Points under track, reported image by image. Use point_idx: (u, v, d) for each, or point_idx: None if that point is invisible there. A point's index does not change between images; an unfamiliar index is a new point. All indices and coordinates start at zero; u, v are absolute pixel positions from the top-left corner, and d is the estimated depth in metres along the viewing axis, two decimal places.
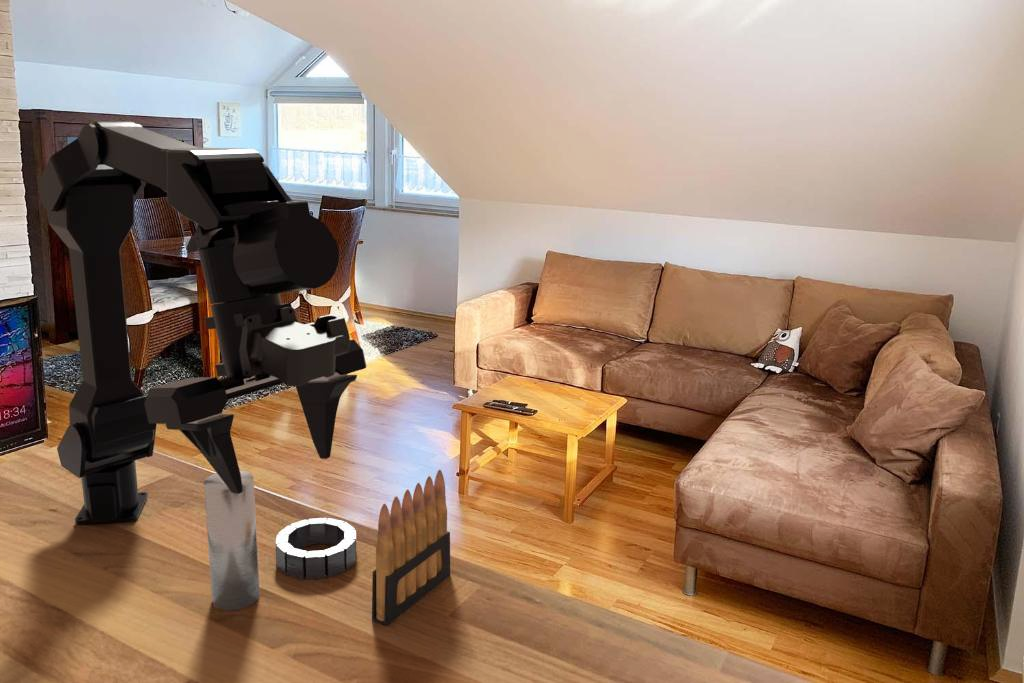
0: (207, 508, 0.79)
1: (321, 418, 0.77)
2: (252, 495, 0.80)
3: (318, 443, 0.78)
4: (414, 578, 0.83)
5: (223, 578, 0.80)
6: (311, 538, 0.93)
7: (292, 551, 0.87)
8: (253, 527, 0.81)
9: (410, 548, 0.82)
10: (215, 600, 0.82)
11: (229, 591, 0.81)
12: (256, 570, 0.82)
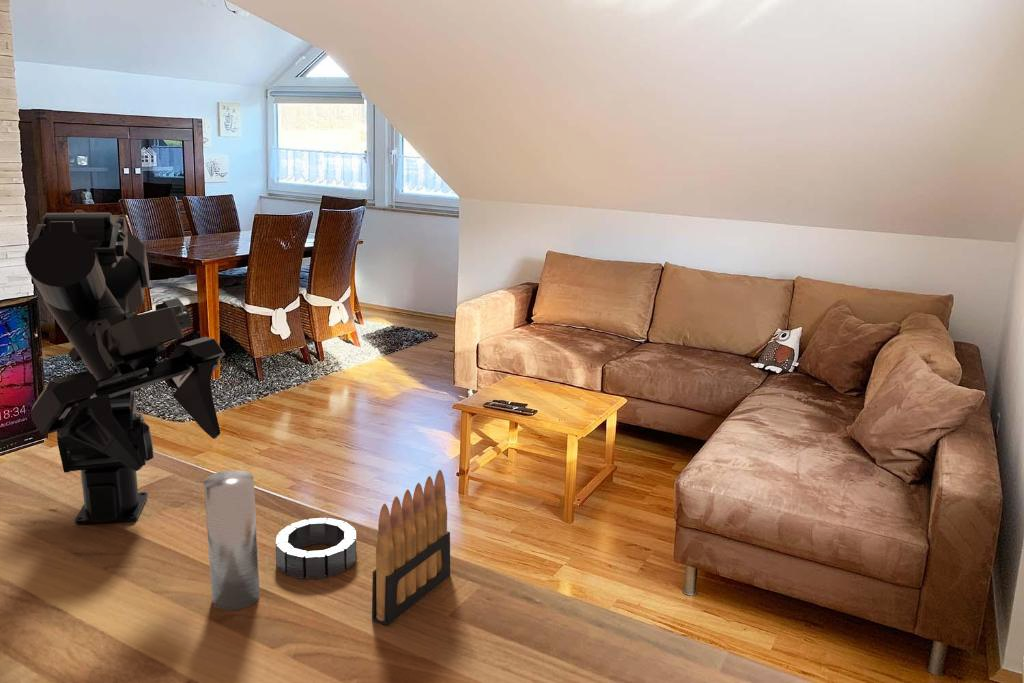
0: (207, 508, 0.79)
1: (200, 403, 0.88)
2: (252, 495, 0.80)
3: (206, 426, 0.88)
4: (414, 578, 0.83)
5: (223, 578, 0.80)
6: (311, 538, 0.93)
7: (292, 551, 0.87)
8: (253, 527, 0.81)
9: (410, 548, 0.82)
10: (215, 600, 0.82)
11: (229, 591, 0.81)
12: (256, 570, 0.82)
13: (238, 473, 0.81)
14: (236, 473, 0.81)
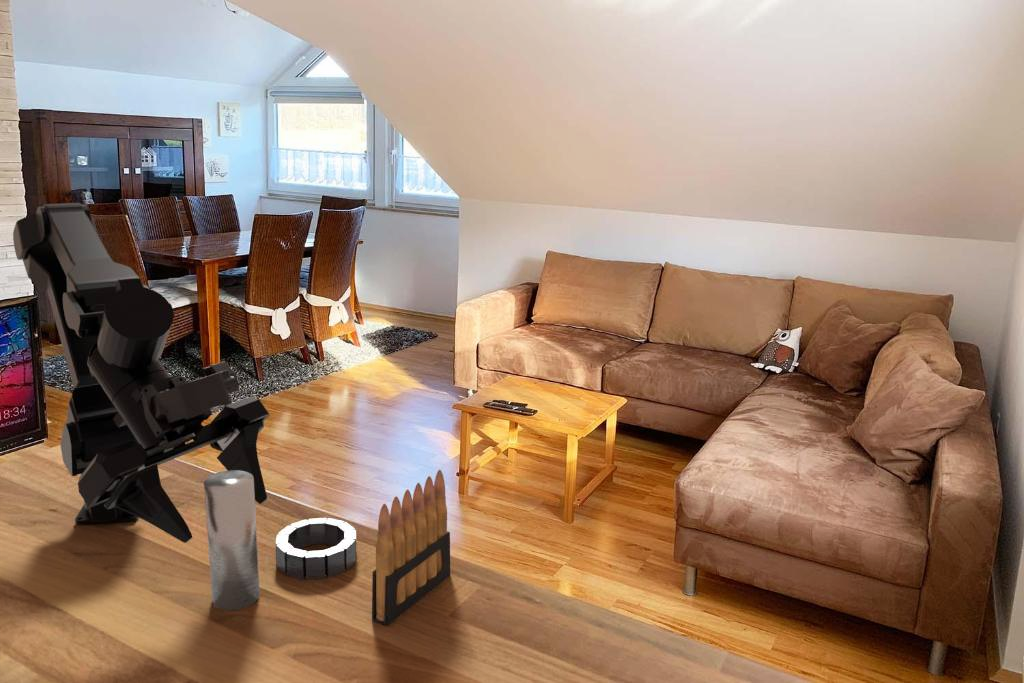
0: (207, 508, 0.79)
1: (246, 467, 0.86)
2: (252, 495, 0.80)
3: None
4: (414, 578, 0.83)
5: (223, 578, 0.80)
6: (311, 538, 0.93)
7: (292, 551, 0.87)
8: (253, 527, 0.81)
9: (409, 548, 0.82)
10: (215, 600, 0.82)
11: (229, 591, 0.81)
12: (256, 570, 0.82)
13: (238, 473, 0.81)
14: (236, 473, 0.81)
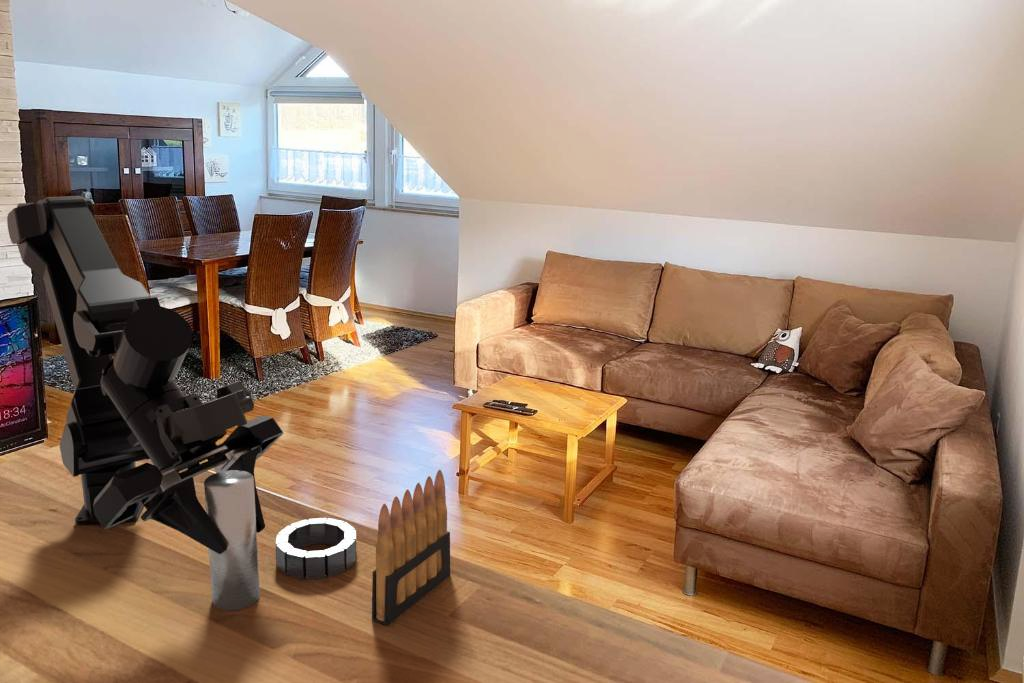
0: (207, 508, 0.79)
1: None
2: (252, 495, 0.80)
3: None
4: (414, 578, 0.83)
5: (223, 578, 0.80)
6: (311, 538, 0.93)
7: (292, 551, 0.87)
8: (253, 527, 0.81)
9: (410, 548, 0.82)
10: (215, 600, 0.82)
11: (229, 591, 0.81)
12: (256, 570, 0.82)
13: (238, 473, 0.81)
14: (236, 473, 0.81)
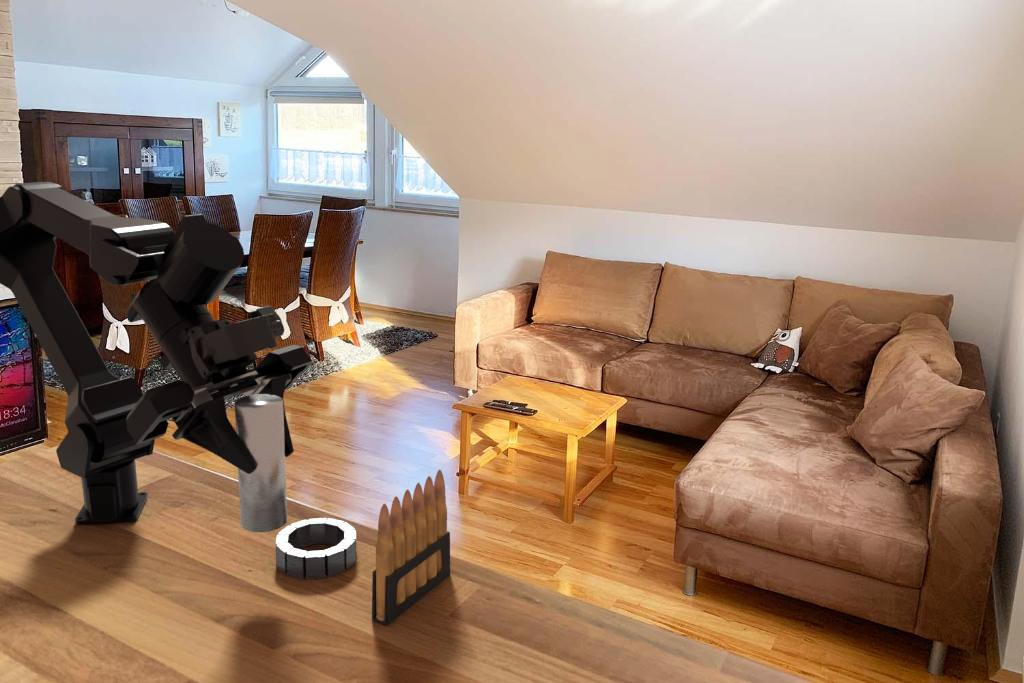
0: (237, 429, 0.80)
1: None
2: (281, 417, 0.81)
3: None
4: (414, 578, 0.83)
5: (252, 499, 0.81)
6: (311, 538, 0.93)
7: (292, 551, 0.87)
8: (282, 450, 0.82)
9: (409, 548, 0.82)
10: (244, 522, 0.83)
11: (257, 512, 0.82)
12: (284, 493, 0.83)
13: (268, 396, 0.82)
14: (266, 396, 0.82)
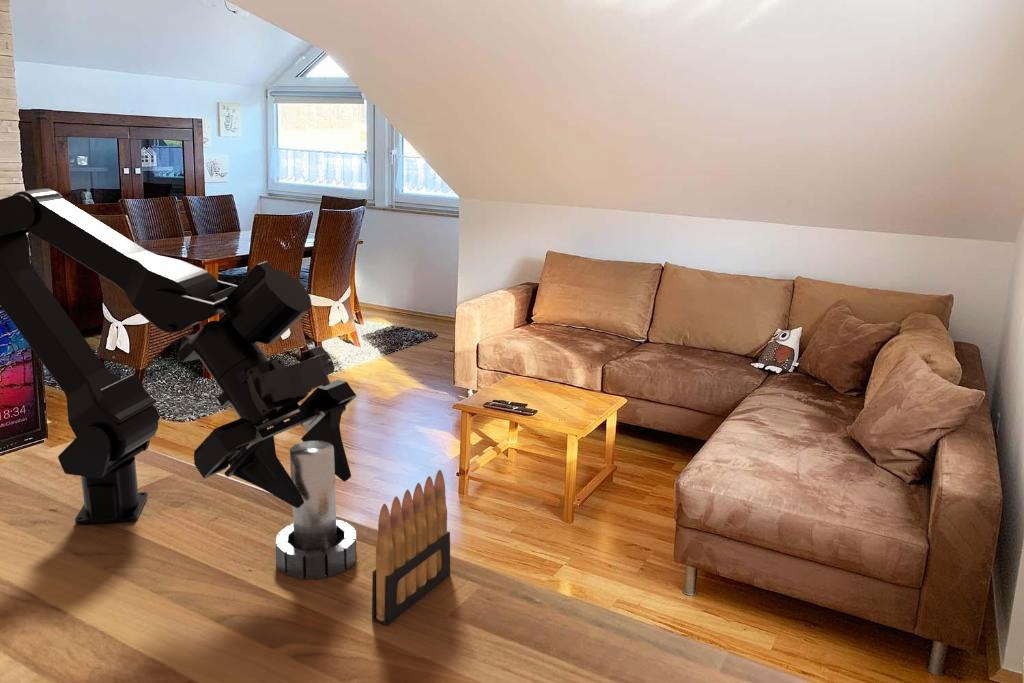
0: (292, 475, 0.87)
1: None
2: (333, 463, 0.88)
3: (337, 470, 0.91)
4: (414, 578, 0.83)
5: (307, 539, 0.88)
6: None
7: (292, 551, 0.87)
8: (333, 492, 0.88)
9: (410, 548, 0.82)
10: None
11: (312, 550, 0.88)
12: (335, 532, 0.90)
13: (319, 443, 0.89)
14: (317, 443, 0.89)
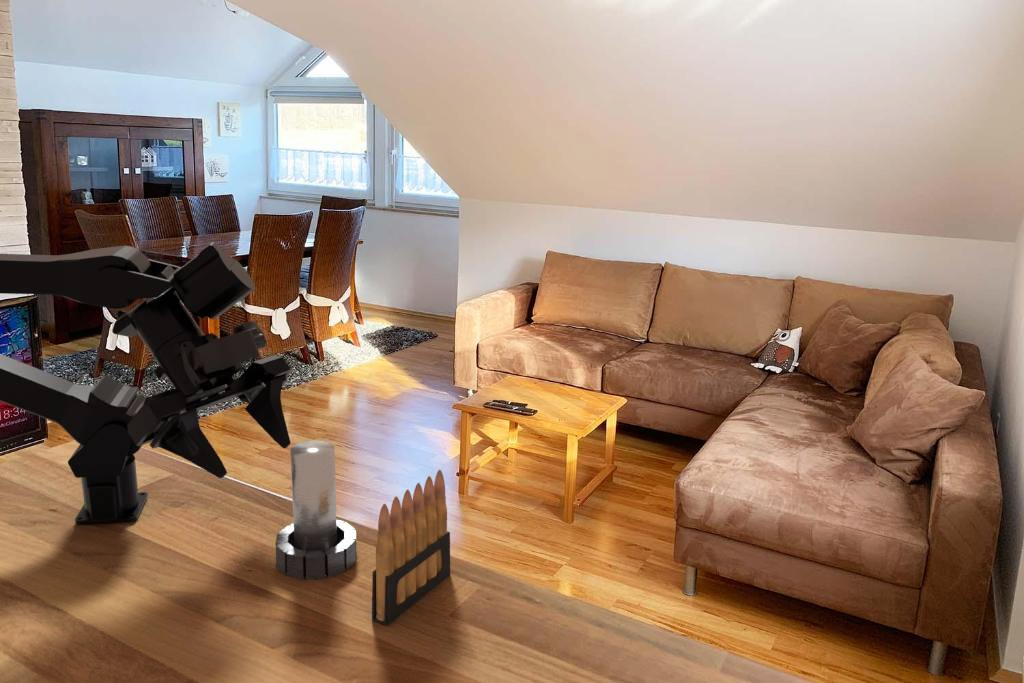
0: (293, 474, 0.87)
1: (272, 416, 0.96)
2: (333, 463, 0.88)
3: (278, 437, 0.96)
4: (414, 578, 0.83)
5: (307, 539, 0.88)
6: None
7: (292, 551, 0.87)
8: (334, 492, 0.89)
9: (409, 548, 0.82)
10: None
11: (312, 550, 0.88)
12: (335, 532, 0.90)
13: (320, 443, 0.89)
14: (318, 443, 0.89)
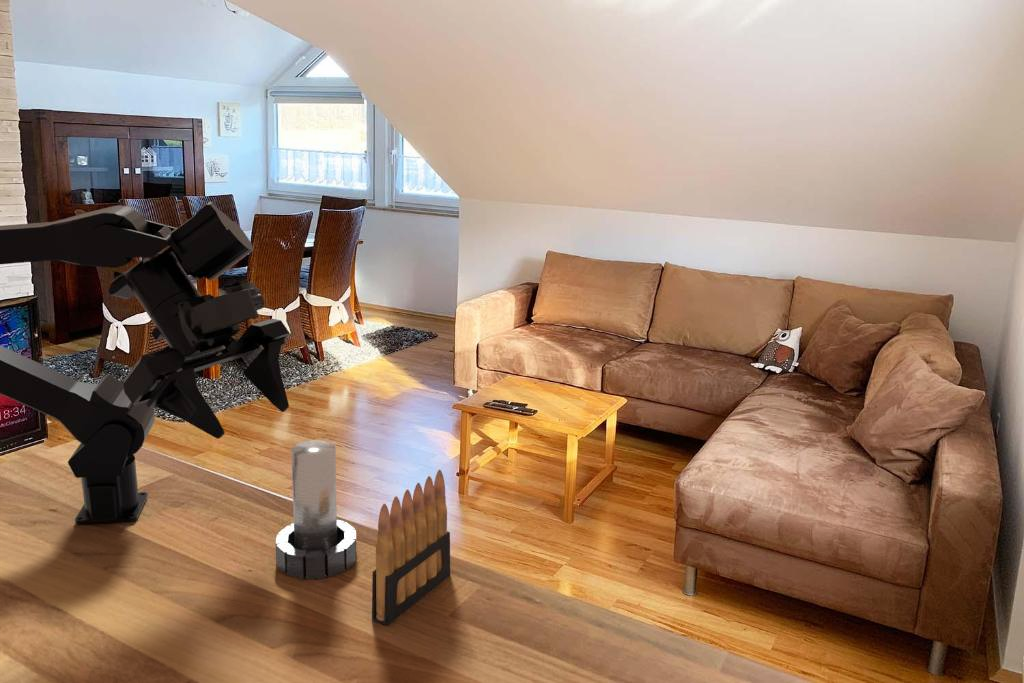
0: (294, 474, 0.87)
1: (270, 379, 0.95)
2: (334, 462, 0.88)
3: (276, 401, 0.95)
4: (414, 578, 0.83)
5: (307, 538, 0.88)
6: None
7: (292, 551, 0.87)
8: (334, 492, 0.89)
9: (409, 548, 0.82)
10: None
11: (312, 550, 0.88)
12: (336, 532, 0.90)
13: (321, 443, 0.89)
14: (319, 442, 0.89)
